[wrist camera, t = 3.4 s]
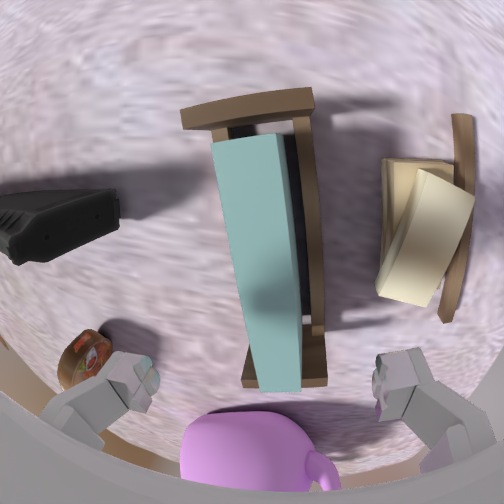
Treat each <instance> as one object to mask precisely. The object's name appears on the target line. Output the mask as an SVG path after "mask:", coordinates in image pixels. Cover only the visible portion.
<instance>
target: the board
mask: <svg viewBox="0 0 504 504" xmlns="http://www.w3.org/2000/svg"><path fill="white" fill-rule="evenodd" d="M210 144H211V150H212V155H213V161H214V167H215V172H216V178H217V183H218V189H219V194H220V200H221V205H222V211H223V216H224V221H225V226H226V232H227V237H228V242H229V247H230V252H231V257H232V262H233V267H234V272H235V277H236V282H237V287H238V292H239V297H240V301H241V306H242V311H243V316H244V320H245V325H246V330H247V334H248V339H249V344H250V348H251V353H252V357H253V362H254V366H255V371H256V375H257V380H258V384H259V388H260V392H301V379H302V306H301V292H300V279H299V267H298V255H297V245H296V234H295V225H294V215H293V206H292V198H291V189H290V181H289V173H288V166H287V158H286V151H285V144H284V137H283V135H280V134H277V133H272V134H265V135H258V136H251V137H244V138H238V139H232V140H226V141H221V142H216V143H210Z"/></svg>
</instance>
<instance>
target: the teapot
mask: <svg viewBox="0 0 504 504" xmlns="http://www.w3.org/2000/svg"><path fill="white" fill-rule="evenodd" d="M180 471H181V479H186V480H190V481H195V482H199V483H205V484H210V485H216V486H222V487H229V488H237V489H246V490H257V491H275V492H308V491H309V489H310V487H311V484H312V481H313V480H314V481H316V482H318V483H319V484H320V485H321V486H322V489H323V491H330V490H341V489H342V488H341V483H340V478H339V475H338V471H337V469H336V467H335V465H334V464H333V462H332V461H331V460H330V459H329V458H328V457H326V456H325V455H323V454H322V453H319V452H316V449H315V447H314V445H313V443H312V441H311V440H310V438H309V437H308V435H307V434H306V433H305V431H304V430H303V429H302V428H301V427H300V426H299V425H297V424H296V423H295V422H294V421H292V420H291V419H289V418H288V417H286V416H283V415H281V414H278V413H274V412H266V411H250V412H228V413H216V414H207V415H203V416H201V417H199V418H198V419H196V420H195V421H194V422H192V423H191V424H190V425H189V426H188V427H187V428H186V430H185V432H184V435H183V439H182V444H181V450H180Z"/></svg>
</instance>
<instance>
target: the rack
mask: <svg viewBox="0 0 504 504" xmlns="http://www.w3.org/2000/svg"><path fill="white" fill-rule="evenodd" d="M314 109H315V105H314V99H313V93H312V87H305V88H294V89H285V90H276V91H269V92H262V93H255V94H249V95H243V96H238V97H232V98H227V99H222V100H218V101H213V102H209V103H204V104H200V105H196V106H192V107H188V108H185V109H181V110H180V113H181V119H182V125H183V130H211V132H212V138H213V143H216V142H221V141H226V140H232V139H234V137H233V131H232V128H236V127H241V126H248V125H254V124H261V123H268V122H276V121H284V120H293V126H294V133H295V140H296V147H297V154H298V162H299V170H300V179H301V187H302V196H303V206H304V216H305V227H306V239H307V251H308V265H309V281H310V300H311V324H312V325H302V379H301V388H308V387H325V386H327V382H328V374H327V360H326V348H325V336H324V271H323V249H322V232H321V217H320V205H319V193H318V183H317V173H316V164H315V155H314V147H313V140H312V132H311V125H310V118H309V116H310V115H311V113H312V112H313V110H314ZM451 116H452V126H453V137H454V154H455V186H457V187H458V188H460V189H462V190H464V191H466V192H467V193H469V194H471V195H473V196H474V193H475V149H474V133H473V122H472V115H468V114H462V113H460V114H451ZM473 209H474V205H473V208H472V211H471V214H470V216H469V219H468V222H467V224H466V227H465V229H464V232H463V234H462V237H461V239H460V241H459V244H458V246H457V248H456V250H455V253H454V255H453V257H452V259H451V261H450V263H449V265H448V268H447V271H446V277H445V282H444V287H443V292H442V296H441V301H440V305H439V309H438V313H437V314H438V316H439V318H440V319H441V321H442V322H443V324H444V323H449V322H452V320H453V317H454V313H455V310H456V306H457V303H458V299H459V295H460V291H461V287H462V282H463V278H464V273H465V268H466V263H467V257H468V251H469V245H470V238H471V230H472V221H473ZM241 382H242V385H243V388H259V384H258V380H257V375H256V371H255V366H254V362H253V357H252V353H251V348H250V344H249V348H248V352H247V356H246V360H245V365H244V369H243V373H242V377H241Z"/></svg>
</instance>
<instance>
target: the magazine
mask: <svg viewBox="0 0 504 504" xmlns="http://www.w3.org/2000/svg"><path fill="white" fill-rule="evenodd" d="M119 218H121V217H120V208H119V199H117V198H116V190H114V189H107V190H52V191H36V192H25V193H17V194H10V195H4V196H0V252H2V253H4V254H5V255H7V256H8V258H9V259H10V260H12V263H13V264H15V265H18V266H20V265H22V264H24V263H26V262H28V261H34V262H41V263H45V262H49V261H51V260H53V259H55V258H57V257H59V256H61V255H63V254H65V253H67V252H69V251H71V250H74V249H76V248H78V247H80V246H82V245H84V244H86V243H89V242H91V241H93V240H95V239H97V238H100V237H102V236H104V235H106V234H109V233H111V232H113V231H116V230H118V229H119V227H120V224H119Z"/></svg>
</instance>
